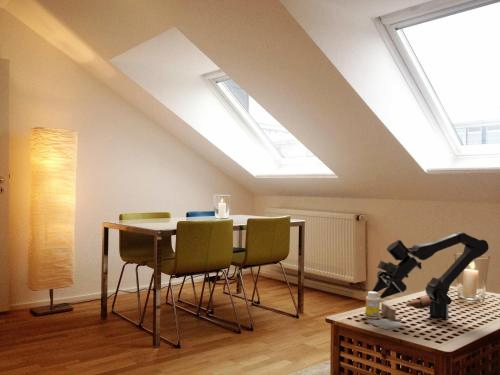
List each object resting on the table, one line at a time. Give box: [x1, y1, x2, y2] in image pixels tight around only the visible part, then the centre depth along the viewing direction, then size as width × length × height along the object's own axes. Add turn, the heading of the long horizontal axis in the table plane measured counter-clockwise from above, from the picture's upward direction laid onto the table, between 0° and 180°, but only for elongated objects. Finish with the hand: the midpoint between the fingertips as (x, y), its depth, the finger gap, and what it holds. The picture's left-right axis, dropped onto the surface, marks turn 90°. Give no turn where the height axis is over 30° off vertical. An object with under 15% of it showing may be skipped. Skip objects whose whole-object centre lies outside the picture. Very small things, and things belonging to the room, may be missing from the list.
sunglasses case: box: [406, 294, 432, 309], centre depth 226 cm, size 18×7×7 cm
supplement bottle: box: [365, 290, 381, 320], centre depth 199 cm, size 6×6×10 cm
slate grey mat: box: [366, 318, 406, 330], centre depth 189 cm, size 10×10×1 cm
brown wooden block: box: [380, 302, 402, 322], centre depth 200 cm, size 12×4×4 cm, turn 6°
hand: (376, 295), depth 200 cm, fingers open, 9 cm apart
